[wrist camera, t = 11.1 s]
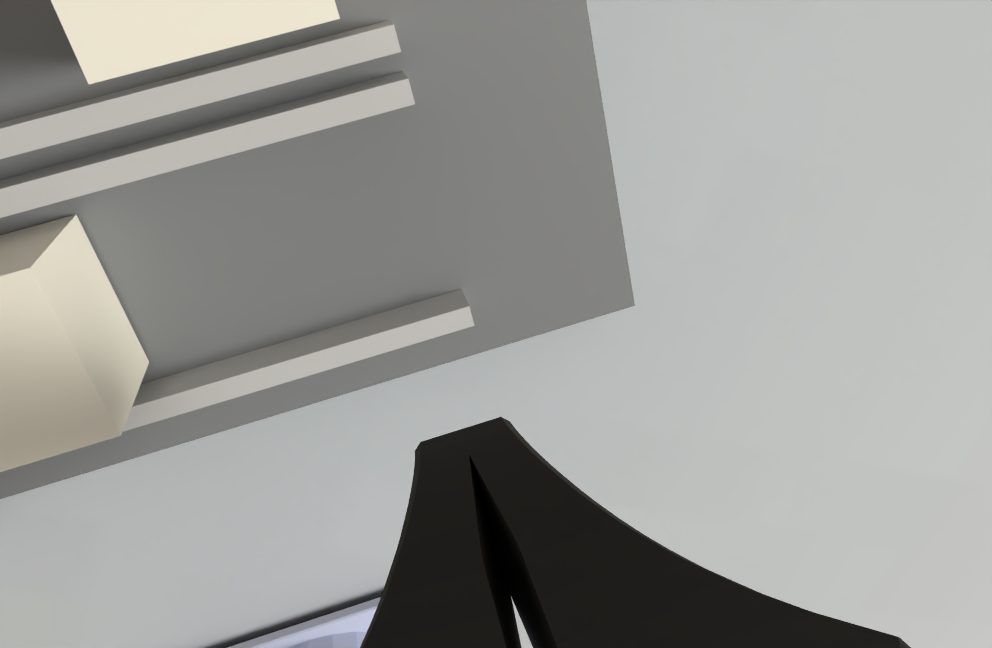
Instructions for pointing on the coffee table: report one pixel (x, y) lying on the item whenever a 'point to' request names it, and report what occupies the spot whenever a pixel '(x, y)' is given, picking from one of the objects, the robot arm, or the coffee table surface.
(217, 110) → the switch board
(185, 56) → the tab
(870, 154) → the coffee table surface
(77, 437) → the tab
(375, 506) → the coffee table surface
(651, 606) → the robot arm
